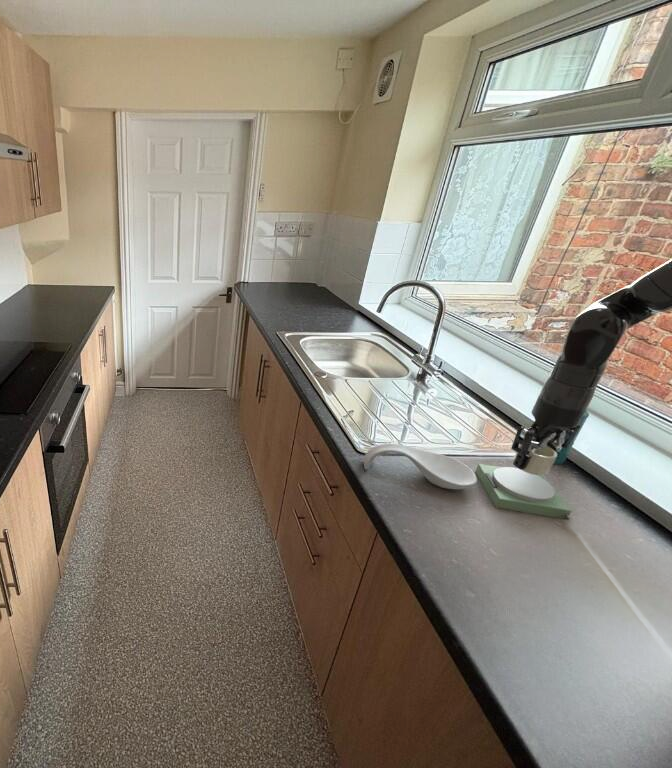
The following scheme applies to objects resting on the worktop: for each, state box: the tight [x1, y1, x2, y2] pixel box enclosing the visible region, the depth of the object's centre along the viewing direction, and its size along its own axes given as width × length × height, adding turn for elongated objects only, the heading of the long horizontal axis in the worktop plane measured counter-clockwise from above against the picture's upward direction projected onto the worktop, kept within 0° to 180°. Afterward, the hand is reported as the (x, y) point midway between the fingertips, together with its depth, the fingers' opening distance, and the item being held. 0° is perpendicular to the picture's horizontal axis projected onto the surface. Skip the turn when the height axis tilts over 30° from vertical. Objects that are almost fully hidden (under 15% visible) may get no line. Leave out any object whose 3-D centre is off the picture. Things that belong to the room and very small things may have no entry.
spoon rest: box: [363, 443, 478, 490], centre depth 101 cm, size 24×12×7 cm, turn 70°
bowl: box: [512, 440, 557, 476], centre depth 92 cm, size 6×6×5 cm
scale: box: [474, 463, 572, 520], centre depth 95 cm, size 13×13×4 cm
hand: (531, 464), depth 92 cm, fingers closed on bowl, 6 cm apart
